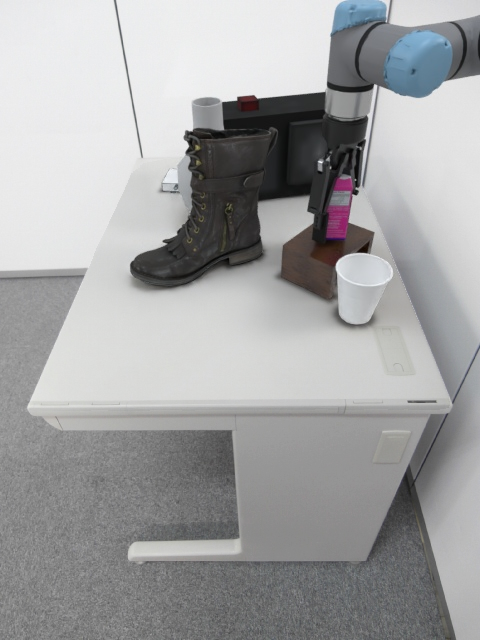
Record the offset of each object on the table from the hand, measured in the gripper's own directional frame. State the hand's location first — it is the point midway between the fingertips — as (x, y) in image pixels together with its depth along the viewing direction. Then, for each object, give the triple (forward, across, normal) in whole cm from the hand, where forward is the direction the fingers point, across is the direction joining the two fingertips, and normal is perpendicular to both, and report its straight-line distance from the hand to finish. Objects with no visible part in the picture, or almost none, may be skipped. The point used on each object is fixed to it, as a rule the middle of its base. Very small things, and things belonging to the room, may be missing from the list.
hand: (330, 232), depth 89 cm
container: (+10, -10, -54) cm, 56 cm away
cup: (+10, +9, +12) cm, 18 cm away
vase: (+10, -1, -34) cm, 35 cm away
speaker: (+10, -25, -31) cm, 41 cm away
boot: (+10, +15, -22) cm, 28 cm away
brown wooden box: (+10, 0, 0) cm, 10 cm away
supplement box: (0, 0, 0) cm, 0 cm away
